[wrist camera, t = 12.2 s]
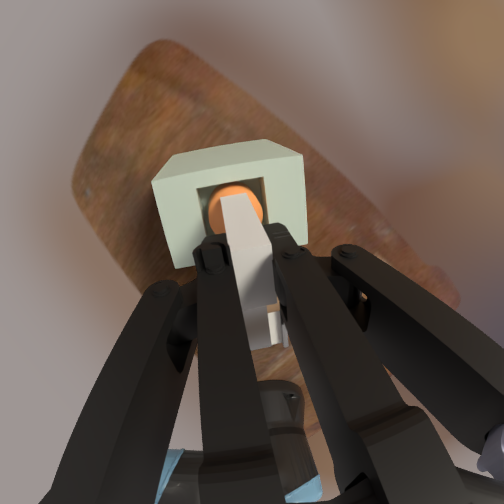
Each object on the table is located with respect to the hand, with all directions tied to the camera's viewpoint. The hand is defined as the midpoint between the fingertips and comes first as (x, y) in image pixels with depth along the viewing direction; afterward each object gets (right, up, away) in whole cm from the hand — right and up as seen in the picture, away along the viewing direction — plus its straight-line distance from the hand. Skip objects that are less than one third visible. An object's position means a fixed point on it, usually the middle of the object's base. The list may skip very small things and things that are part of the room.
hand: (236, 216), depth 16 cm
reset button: (0, +1, +2) cm, 3 cm away
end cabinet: (-2, +5, +10) cm, 12 cm away
